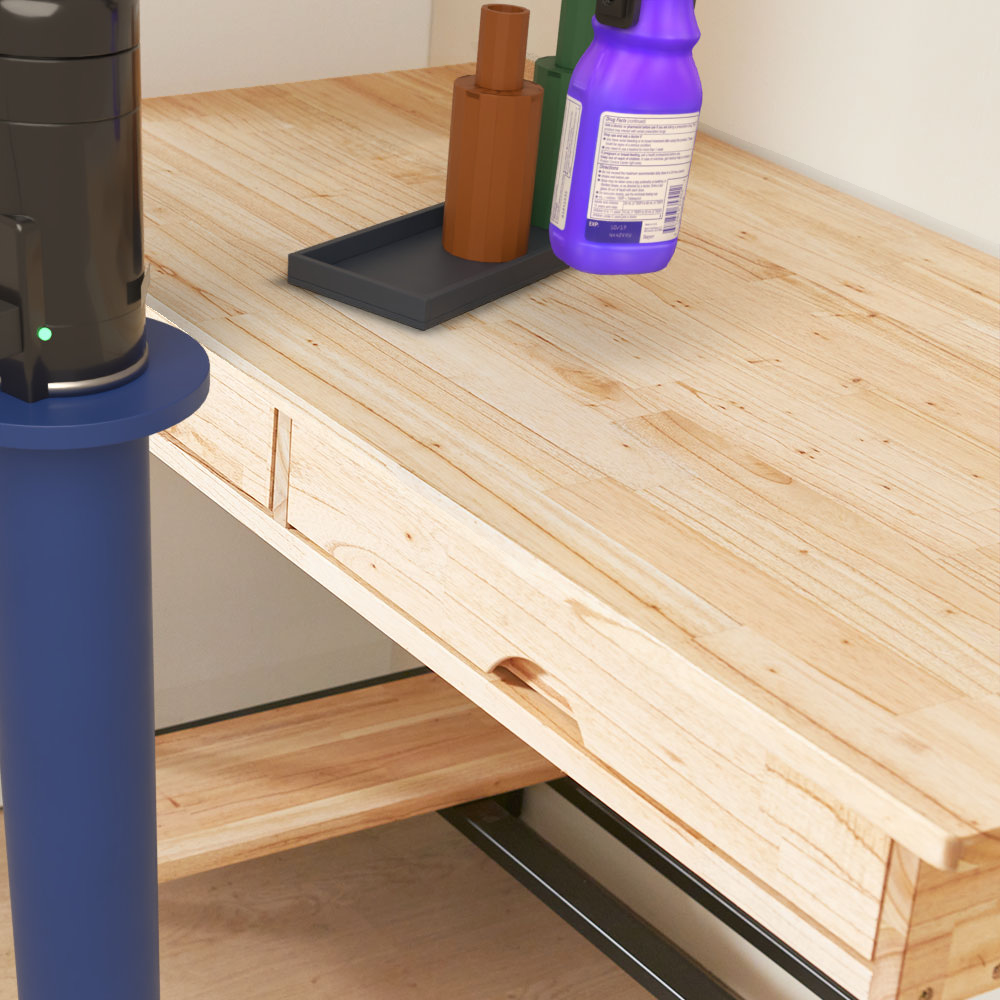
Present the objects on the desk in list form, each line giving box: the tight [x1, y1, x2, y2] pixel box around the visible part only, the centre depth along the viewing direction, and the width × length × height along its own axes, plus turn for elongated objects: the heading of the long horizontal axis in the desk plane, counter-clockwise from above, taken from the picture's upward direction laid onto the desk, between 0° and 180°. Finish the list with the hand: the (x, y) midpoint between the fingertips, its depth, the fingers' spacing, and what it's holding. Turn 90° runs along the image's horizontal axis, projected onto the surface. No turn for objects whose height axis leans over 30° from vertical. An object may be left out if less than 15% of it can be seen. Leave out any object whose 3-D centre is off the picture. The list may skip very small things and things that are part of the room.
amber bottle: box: [442, 3, 544, 263], centre depth 105 cm, size 6×6×17 cm
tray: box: [286, 200, 571, 331], centre depth 109 cm, size 29×11×2 cm, turn 146°
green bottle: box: [530, 0, 597, 229], centre depth 113 cm, size 6×6×17 cm
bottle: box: [549, 0, 704, 276], centre depth 83 cm, size 7×6×17 cm
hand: (644, 17), depth 80 cm, fingers closed on bottle, 5 cm apart
